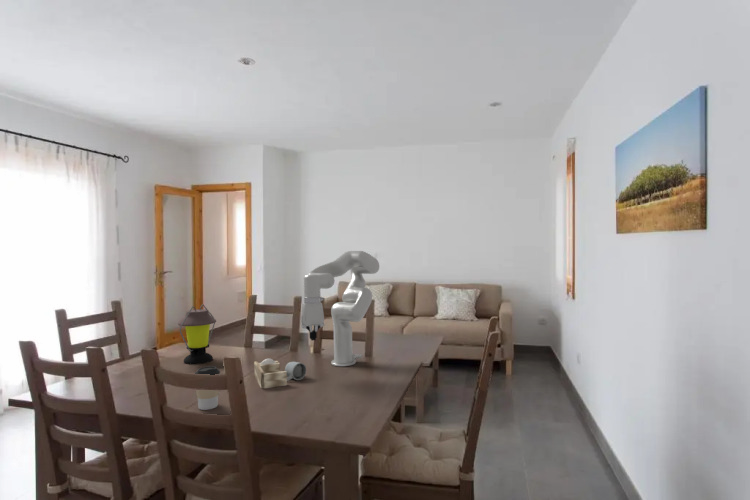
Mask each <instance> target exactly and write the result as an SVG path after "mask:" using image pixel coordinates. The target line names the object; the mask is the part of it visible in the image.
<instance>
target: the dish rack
mask: <svg viewBox="0 0 750 500" xmlns="http://www.w3.org/2000/svg"><path fill="white" fill-rule="evenodd" d="M274 361H275V362H276V363H274V364H266V365H260V364H261V362H258V361H257V360H256V361H254V362H253V369H254V378H255V380H256V382H257V384H258V385H259V387H260V389H261V390H263V389H271V388H275V387H276V388H277V387H283V386H287V385H288V381H287V377H288V376H287V371H285V370H284V371H282V370H281V363H280V362H279V361H278V360H274Z"/></svg>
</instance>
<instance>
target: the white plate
mask: <svg viewBox="0 0 750 500" xmlns="http://www.w3.org/2000/svg"><path fill="white" fill-rule="evenodd" d="M275 361H276V360H274V359H272V358H265V359H264V360H262V361H261V362H260V363H261V364H260V365H266V364H274V363H276V362H275Z"/></svg>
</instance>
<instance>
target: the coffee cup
mask: <svg viewBox="0 0 750 500" xmlns="http://www.w3.org/2000/svg"><path fill="white" fill-rule="evenodd" d="M220 373H221V372H220V369H219V368H217V366H214V365H211V366H210V365H208V366H204V367H203V366H202V367H200V368H198V369H197V370H196V371H195V372H194V375H195V374H210V375H215V374H219V375H220ZM195 392H196V398H197V405H198V406H197V407H198V409H199V410H202V411H203V410H204V411H206V410H213V409H214V408H217V407H218V404H219V403H218V402H219V395H220V393H219V392H220V390H219V391H214V390H196V389H195Z"/></svg>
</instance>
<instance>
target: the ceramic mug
mask: <svg viewBox="0 0 750 500" xmlns="http://www.w3.org/2000/svg"><path fill="white" fill-rule="evenodd" d="M284 371H287V382H288V381H290V380H292V379H293V380H295V381H300V380H303V379H304V378H305V376H306V374H307V366H306V365H305V364H304V363H303V362H298V361H290V362H288V363H286V365H285V366H284Z"/></svg>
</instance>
